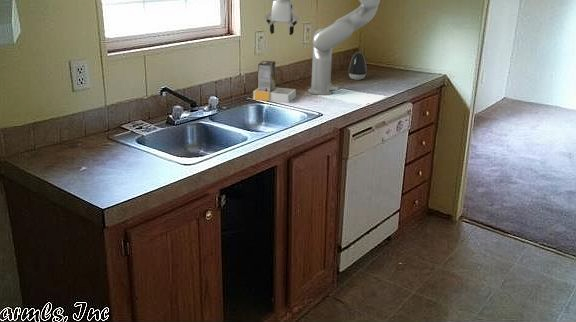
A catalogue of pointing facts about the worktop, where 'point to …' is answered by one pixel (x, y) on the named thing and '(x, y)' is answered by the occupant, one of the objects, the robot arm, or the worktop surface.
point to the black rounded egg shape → (357, 67)
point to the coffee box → (266, 76)
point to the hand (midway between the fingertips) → (281, 34)
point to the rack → (275, 95)
